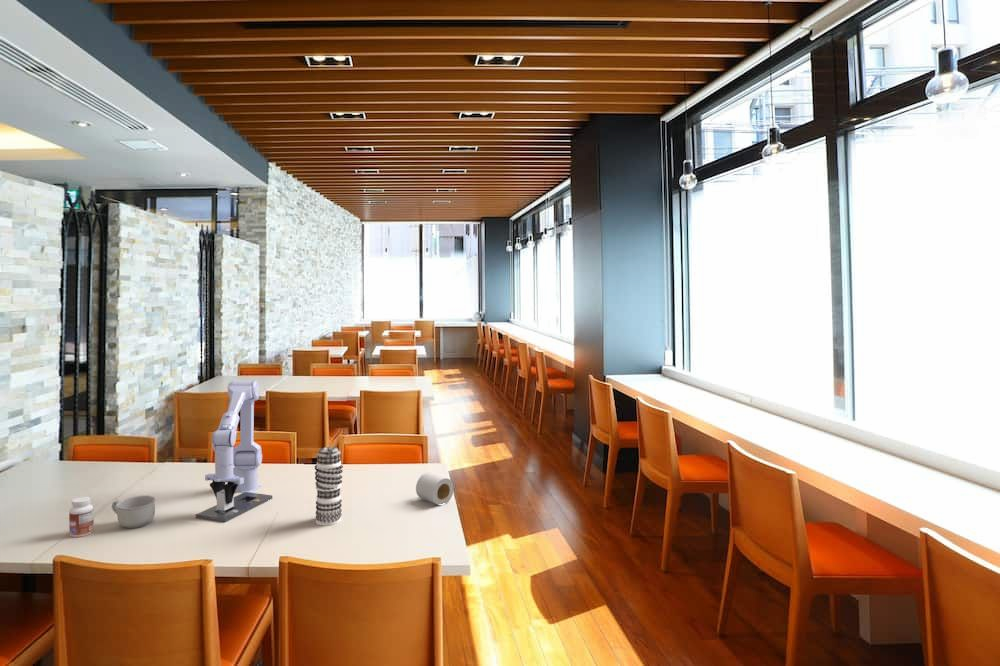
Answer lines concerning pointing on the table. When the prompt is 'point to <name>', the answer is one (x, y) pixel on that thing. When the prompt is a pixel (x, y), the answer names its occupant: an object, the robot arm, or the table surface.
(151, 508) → the teacup
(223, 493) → the plug
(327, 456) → the grey patterned cylinder
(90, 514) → the pill bottle
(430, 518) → the table surface
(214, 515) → the panel
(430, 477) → the toilet paper
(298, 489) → the table surface
